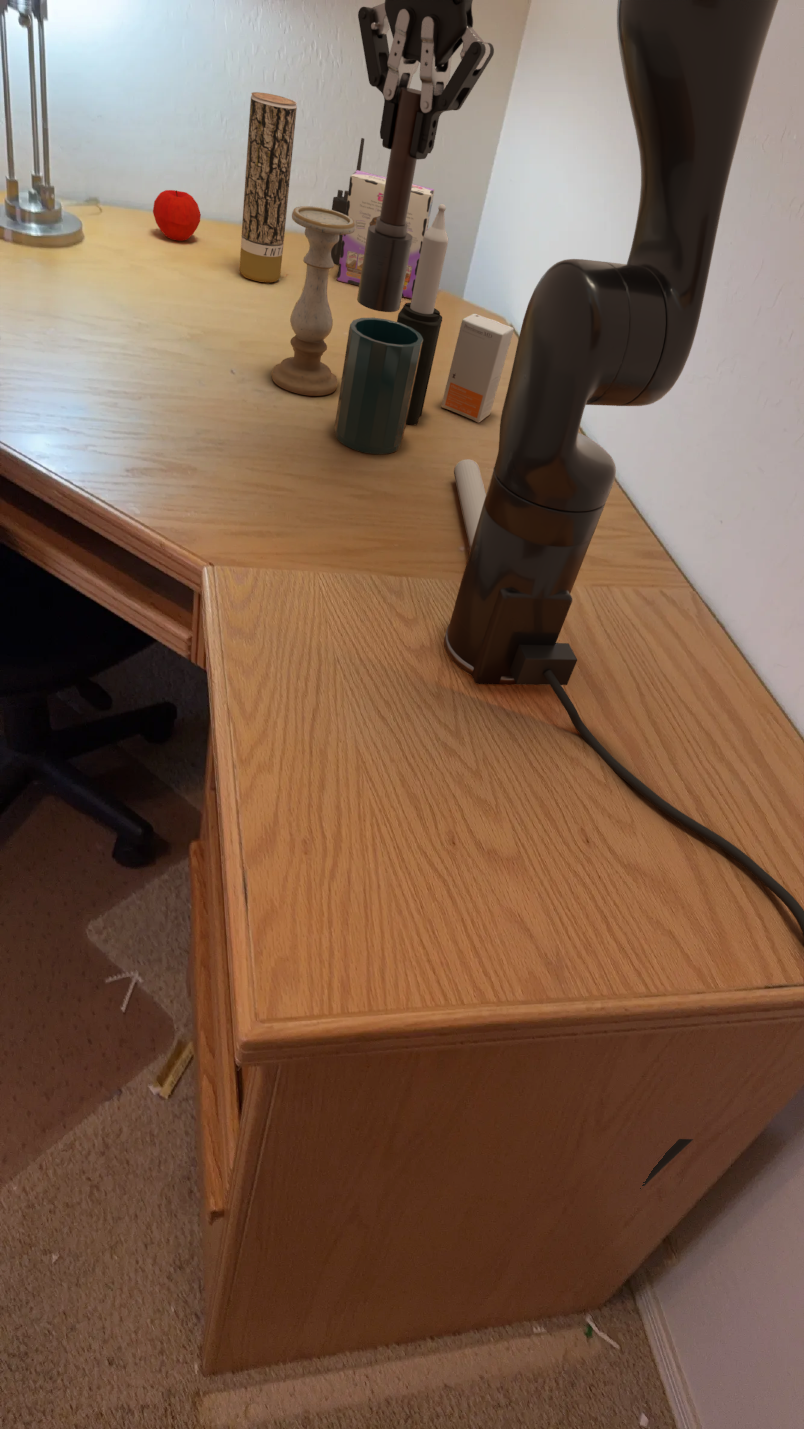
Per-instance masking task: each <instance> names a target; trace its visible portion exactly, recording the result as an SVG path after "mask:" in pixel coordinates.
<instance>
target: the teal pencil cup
mask: <svg viewBox="0 0 804 1429" xmlns="http://www.w3.org/2000/svg"><path fill="white" fill-rule="evenodd" d="M348 328H349V329H348V334H347V342H346V348H345V354H344V361H343V367H342V374H341V381H340V388H339V394H338V402H337V408H336V415H335V421H334V430H333V431H334V432H333V433H334V436H335V438H336V439H337V441H338V442H339V443H341V444H342V445H343V446H345V447H347V448H349V449H352V450H353V451H354V450H355V451H357V452H360V453H365V454H369V455H370V454H371V455H389V454H392V453H393V454H394V453H396V452H397V451H399V450H400V448H401V447H402V443H403V439H404V437H405V436H404V435H405V431H406V426H407V424H406V421H407V416H408V411H409V407H410V402H411V397H412V392H413V387H414V382H415V378H416V373H417V368H418V363H419V358H420V353H421V349H422V344H423V338H422V336H421V334H420V333H419V332H417V331H416V330H414V329H413V328H411V327H409V326H406V325H404V324H402V323H399V322H397V321H394V320H390V319H387V318H381V317H380V318H379V317H360V318H356V319H353V320H352V321H351V323H350V324H349V327H348Z"/></svg>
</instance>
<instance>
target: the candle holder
mask: <svg viewBox="0 0 804 1429" xmlns="http://www.w3.org/2000/svg"><path fill="white" fill-rule="evenodd" d="M291 220H292V221H293V222H294V223H295V224H297V225H299V226H301V227H303V228H304V236H305V238H306V239H307V241H308V245H309V246H308V251H307V253H306V254H305V256H304V257H303V258H302V261H303V262H304V264H305V265H306V272H305V277H304V285H303V288H302V291H301V294H300V296H299V298H298V299H297V301H296V303H295V304H294V306H293V309H292V310H291V314H290V319H289V321H290V326H291V330H292V331H293V333H294V334H295V335H294V336H293V337H292V338H290V341H289V344H290V345H291V347H292V350H293V356H290V357H286V358H284V359H282V360H281V362H279V363H278V364H275V365H274V366H273V367H272V369H271V380H272V381H273V382H274V384H275V385H277V386H278V387H279V388H282V390H283V389H284V390H286V391H287V392H291V393H294V394H297V395H303V396H309V397H310V396H312V397H322V396H327V395H330V394H333V393H335V391H336V390H337V387H338V384H339V383H338V382H339V381H338V378H337V376H336V375H335V374H334V373H333V372H332V370H331V368H330V367H329V366H328V365H327V364H325V363H324V362H322V361H321V358H322V356H323V355H324V353H325V352H327V350H328V345H327V343H326V342H325V340H326V338H328V337H329V335H330V334H331V332H332V330H333V325H334V321H333V320H334V319H333V315H332V310H331V307H330V303H329V297H328V282H329V275H330V270H331V269H333V268H334V267H335V263H334V262H333V260H332V257H331V250H332V248H333V246H334V245H335V244H336V243H337V242H338V241H339V235H345V234H351V233H353V232H354V230H355V222H354V220H353V219H352V218H350V217H349V216H347V215H345V214H343V213H340V212H337V211H334V210H332V209H330V208H326V207H319V206H313V205H312V206H311V205H303V206H301V205H300V206H296V207H295V208H294V209H293V210H292V212H291Z"/></svg>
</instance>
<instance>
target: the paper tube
mask: <svg viewBox="0 0 804 1429" xmlns="http://www.w3.org/2000/svg"><path fill="white" fill-rule="evenodd" d="M250 94H251V96H250V103H249V104H250V105H249V117H248V131H247V132H248V134H247V148H246V162H245V178H244V190H243V191H244V192H243V206H242V207H243V208H242V221H241V222H242V223H241V224H242V225H241V238H240V251H239V252H240V253H239V266H238V267H239V272H240V274H241V275H242V276H243V277H245V278H246V279H248V280H251V281H255V282H260V283H275V282H277V281H278V280H279V279H280V278H281V273H282V264H283V253H284V242H285V235H286V234H285V233H286V223H287V212H288V204H289V203H288V202H289V201H288V200H289V191H290V182H291V173H292V172H291V171H292V160H293V149H294V140H295V139H294V138H295V130H296V118H297V110H298V108H297V107H298V106H297V104H298V102H297V101H295V100H293V99H290V98H288V97H284V96H281V95H277V94H273V93H267V92H260V91H259V92H258V91H253V92H251V93H250Z"/></svg>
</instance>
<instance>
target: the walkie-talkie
mask: <svg viewBox="0 0 804 1429" xmlns="http://www.w3.org/2000/svg"><path fill="white" fill-rule="evenodd" d="M364 146H365V138H364V137H361V138H360V145H359V150H358V157H357V162H356V163H357V164H356V170H355V171H357V170H359V171H362V161H363V154H364ZM348 191H349V190H342V189H337V195H336V196H333V198H332V203H331V204H332V205H331V210H334V211H337V212H340V213H343V214H346V207H347V199H348ZM342 237H343V235H339V241H338V242H337V243H336V244H335V245H334V246H333V248H332V250H331V257H332V260H333V262H334V265H337V266H339V261H340V253H341V246H342Z"/></svg>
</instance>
